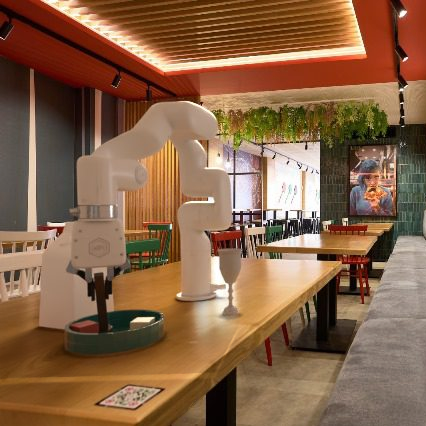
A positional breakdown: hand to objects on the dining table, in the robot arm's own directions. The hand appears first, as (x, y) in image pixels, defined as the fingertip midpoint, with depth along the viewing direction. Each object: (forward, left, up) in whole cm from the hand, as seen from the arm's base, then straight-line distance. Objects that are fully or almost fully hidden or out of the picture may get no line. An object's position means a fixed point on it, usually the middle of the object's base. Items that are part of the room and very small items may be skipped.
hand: (100, 298), depth 86 cm
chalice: (-31, -8, -10) cm, 34 cm away
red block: (+3, -1, -9) cm, 10 cm away
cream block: (-8, +2, -9) cm, 13 cm away
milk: (+5, -20, -10) cm, 23 cm away
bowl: (-3, -1, -10) cm, 11 cm away
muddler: (-1, -2, -8) cm, 9 cm away
